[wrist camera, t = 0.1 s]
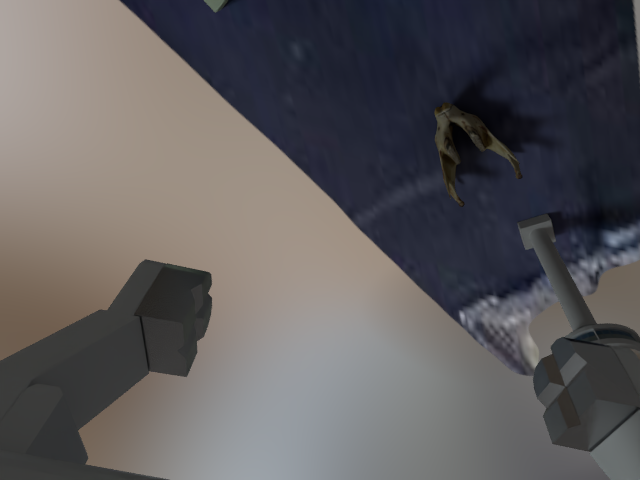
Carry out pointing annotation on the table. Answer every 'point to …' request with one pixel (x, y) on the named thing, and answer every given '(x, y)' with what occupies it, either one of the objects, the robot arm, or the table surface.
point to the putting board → (216, 4)
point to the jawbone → (477, 132)
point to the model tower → (572, 290)
